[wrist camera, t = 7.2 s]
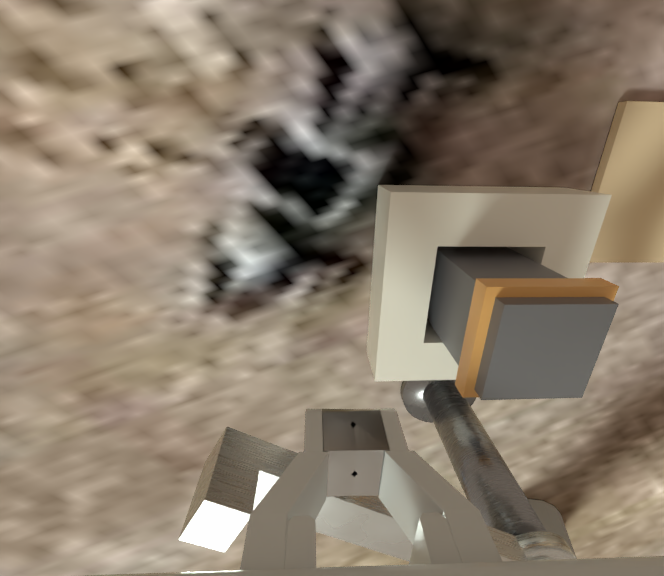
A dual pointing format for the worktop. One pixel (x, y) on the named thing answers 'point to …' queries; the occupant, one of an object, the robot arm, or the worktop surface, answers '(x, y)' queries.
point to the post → (472, 455)
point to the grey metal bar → (334, 517)
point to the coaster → (633, 185)
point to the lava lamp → (551, 519)
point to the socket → (461, 231)
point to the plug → (517, 323)
